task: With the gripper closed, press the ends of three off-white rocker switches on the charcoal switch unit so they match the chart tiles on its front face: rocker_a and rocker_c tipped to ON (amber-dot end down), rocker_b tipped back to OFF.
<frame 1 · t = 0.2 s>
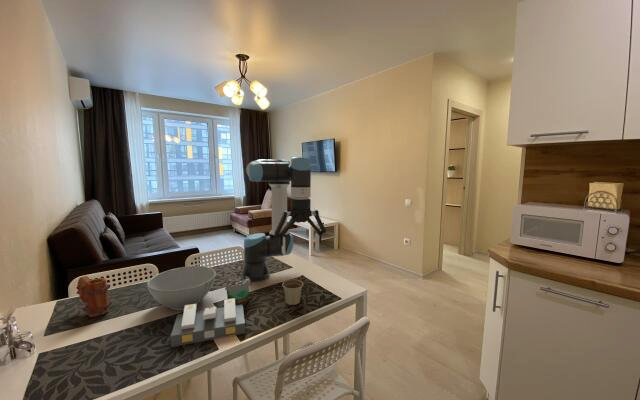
hand: (300, 252, 104), 28 cm above the table, fingers open, 13 cm apart
rocker c: (189, 315, 97), point 6 cm above the table, hinge at 15.0°
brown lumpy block: (94, 313, 110), on the table
rocker a: (229, 309, 102), point 6 cm above the table, hinge at 15.0°
decorative bowl: (184, 303, 119), on the table
rocker b: (210, 312, 99), point 6 cm above the table, hinge at -15.0°
switch unit: (210, 328, 100), on the table
food container: (241, 303, 119), on the table
flower pot: (292, 302, 121), on the table
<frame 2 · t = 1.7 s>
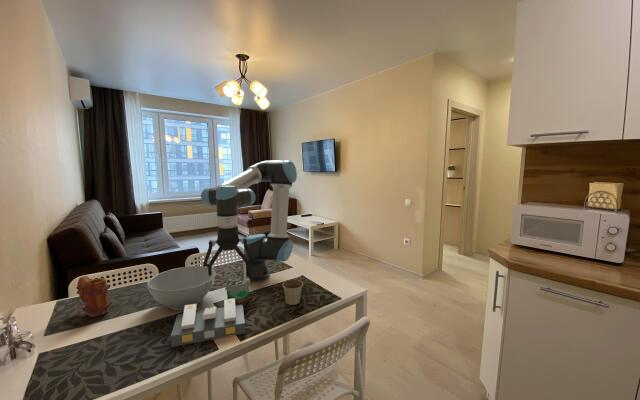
hand: (229, 281, 104), 16 cm above the table, fingers open, 11 cm apart
nothing on the table moved.
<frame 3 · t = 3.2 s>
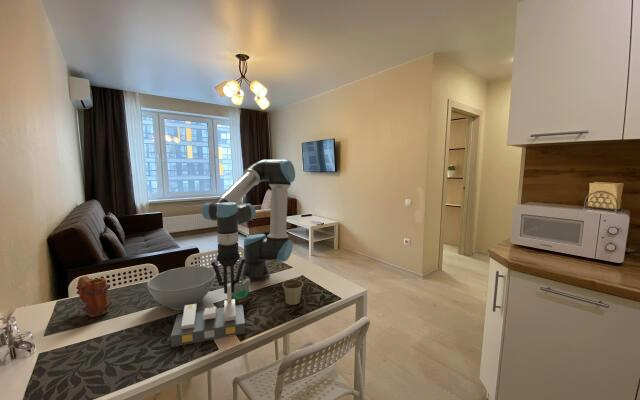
hand: (229, 300, 106), 8 cm above the table, fingers closed
rocker a: (229, 309, 102), point 6 cm above the table, hinge at 9.8°, touching gripper
everything else where it was.
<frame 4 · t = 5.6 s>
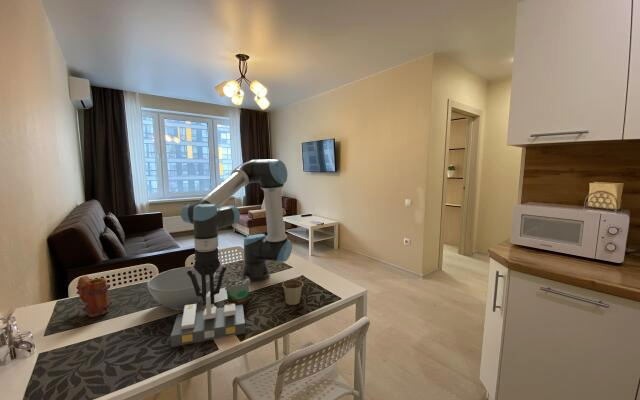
hand: (209, 312, 95), 9 cm above the table, fingers closed
rocker a: (229, 309, 102), point 6 cm above the table, hinge at -14.0°
rocker b: (210, 312, 99), point 6 cm above the table, hinge at -14.9°, touching gripper
everything else where it was.
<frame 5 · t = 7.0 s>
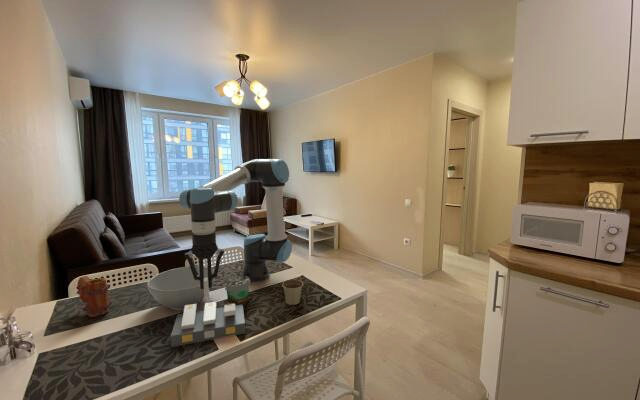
hand: (206, 296, 95), 14 cm above the table, fingers closed
rocker b: (210, 312, 99), point 6 cm above the table, hinge at 9.8°
everything else where it was.
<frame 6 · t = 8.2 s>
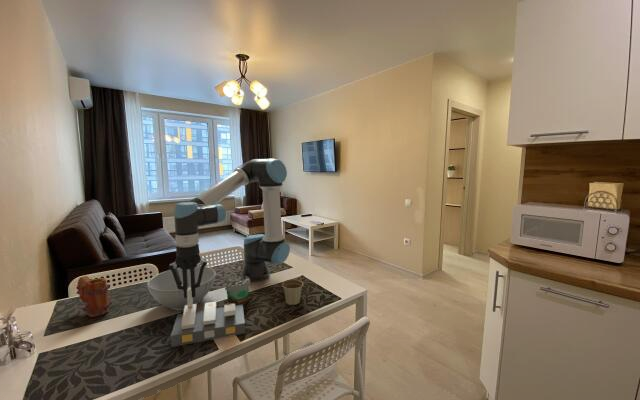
hand: (190, 305, 101), 8 cm above the table, fingers closed
rocker c: (189, 315, 97), point 6 cm above the table, hinge at 14.5°, touching gripper
rocker b: (210, 312, 99), point 6 cm above the table, hinge at 11.1°
everything else where it was.
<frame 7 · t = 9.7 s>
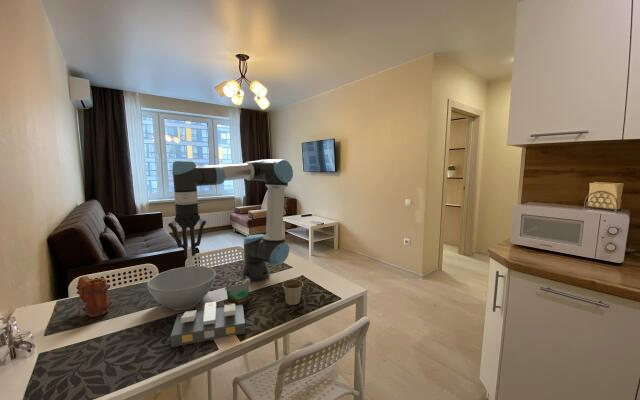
hand: (190, 264, 101), 23 cm above the table, fingers closed
rocker c: (189, 315, 97), point 6 cm above the table, hinge at -16.7°
everything else where it was.
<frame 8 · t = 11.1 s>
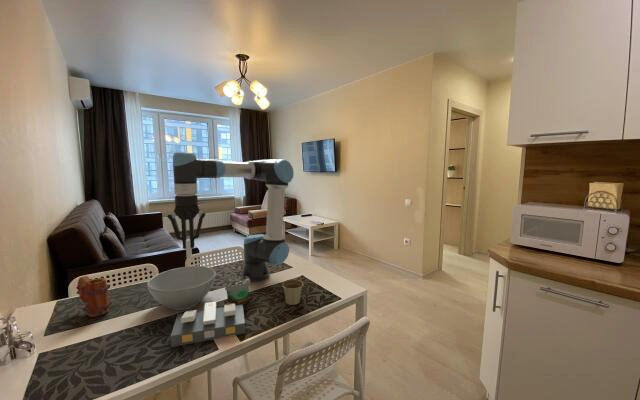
hand: (189, 256, 101), 26 cm above the table, fingers closed
rocker c: (189, 315, 97), point 6 cm above the table, hinge at -16.0°
everything else where it was.
at the end: rocker a at -14° (first picture: +15°); rocker b at +11° (first picture: -15°); rocker c at -16° (first picture: +15°) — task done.
